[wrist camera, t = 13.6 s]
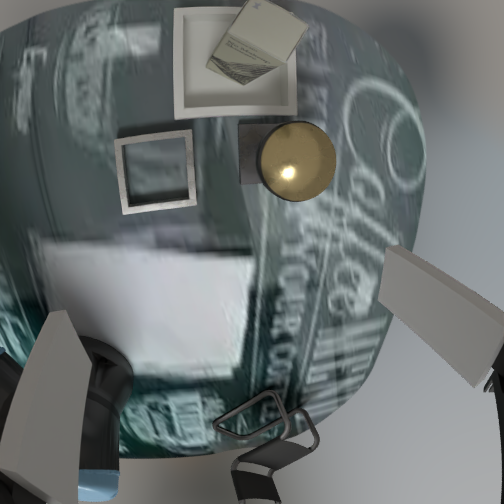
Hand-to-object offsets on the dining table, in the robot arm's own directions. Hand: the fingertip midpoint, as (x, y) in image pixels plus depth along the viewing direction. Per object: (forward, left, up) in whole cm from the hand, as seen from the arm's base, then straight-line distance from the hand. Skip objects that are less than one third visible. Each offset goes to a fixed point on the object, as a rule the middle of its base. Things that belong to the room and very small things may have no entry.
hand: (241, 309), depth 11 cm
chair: (+7, -47, -25) cm, 53 cm away
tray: (+5, +14, -24) cm, 29 cm away
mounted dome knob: (+9, +3, -24) cm, 26 cm away
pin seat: (-4, +2, -24) cm, 25 cm away
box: (+5, +14, -24) cm, 28 cm away
